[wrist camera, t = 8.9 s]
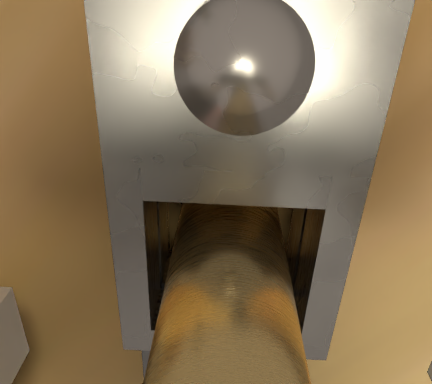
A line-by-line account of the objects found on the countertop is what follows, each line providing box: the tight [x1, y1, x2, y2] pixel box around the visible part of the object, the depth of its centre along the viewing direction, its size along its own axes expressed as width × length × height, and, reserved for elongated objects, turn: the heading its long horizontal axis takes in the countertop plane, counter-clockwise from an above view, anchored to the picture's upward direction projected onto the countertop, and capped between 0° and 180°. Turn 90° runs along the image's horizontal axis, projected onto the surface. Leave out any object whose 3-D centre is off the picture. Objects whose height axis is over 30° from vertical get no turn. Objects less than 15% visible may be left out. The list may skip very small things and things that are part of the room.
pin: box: [143, 203, 311, 384], centre depth 13 cm, size 4×4×14 cm
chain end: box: [84, 0, 415, 360], centre depth 14 cm, size 8×18×6 cm, turn 178°
